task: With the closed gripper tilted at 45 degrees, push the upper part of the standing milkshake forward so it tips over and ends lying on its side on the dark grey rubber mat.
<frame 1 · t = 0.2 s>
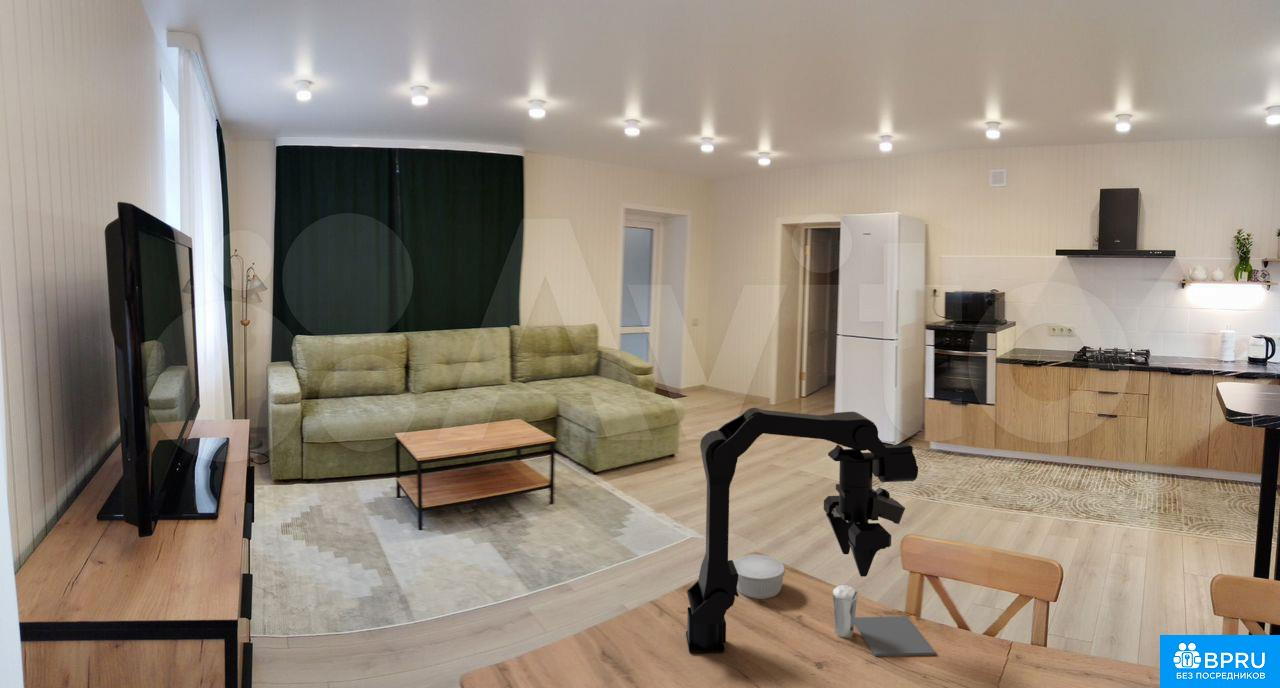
hand: (854, 564, 121), 15 cm above the table, tool pointing down, fingers open, 9 cm apart
ramekin: (757, 589, 142), on the table
milkshake: (845, 635, 125), on the table
mat: (891, 636, 124), on the table
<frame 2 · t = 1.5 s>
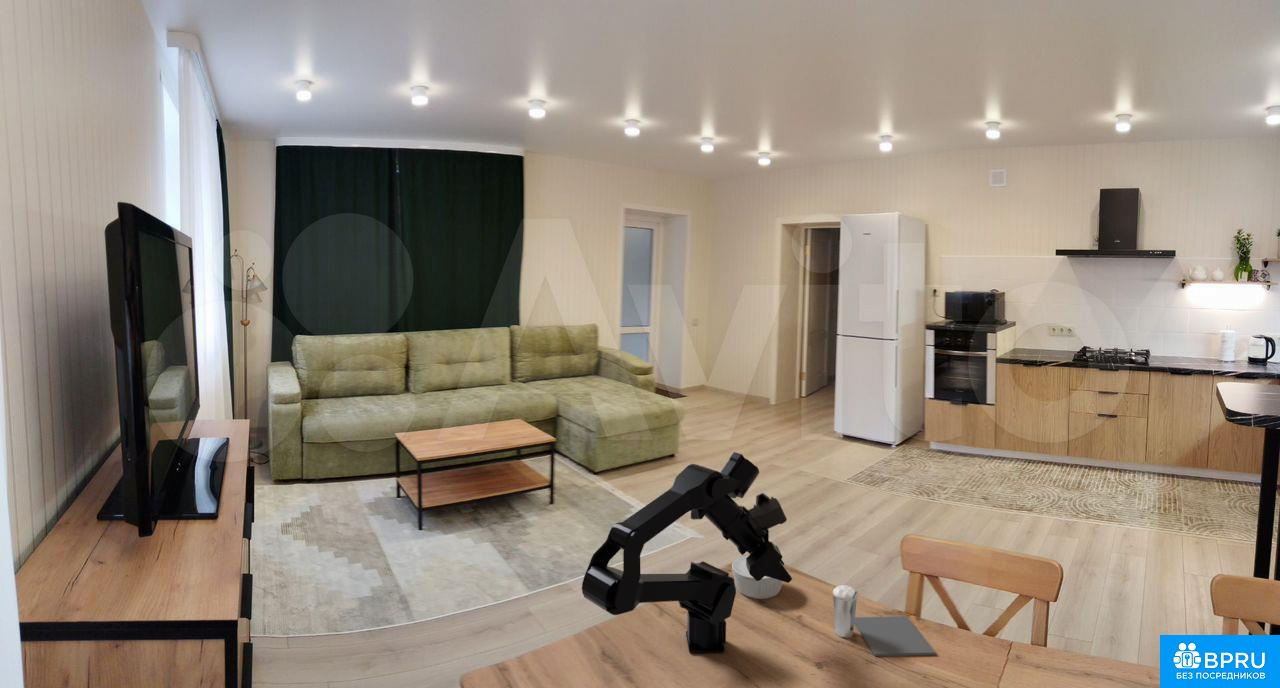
hand: (786, 572, 123), 13 cm above the table, tool tilted 45°, fingers open, 6 cm apart
nothing on the table moved.
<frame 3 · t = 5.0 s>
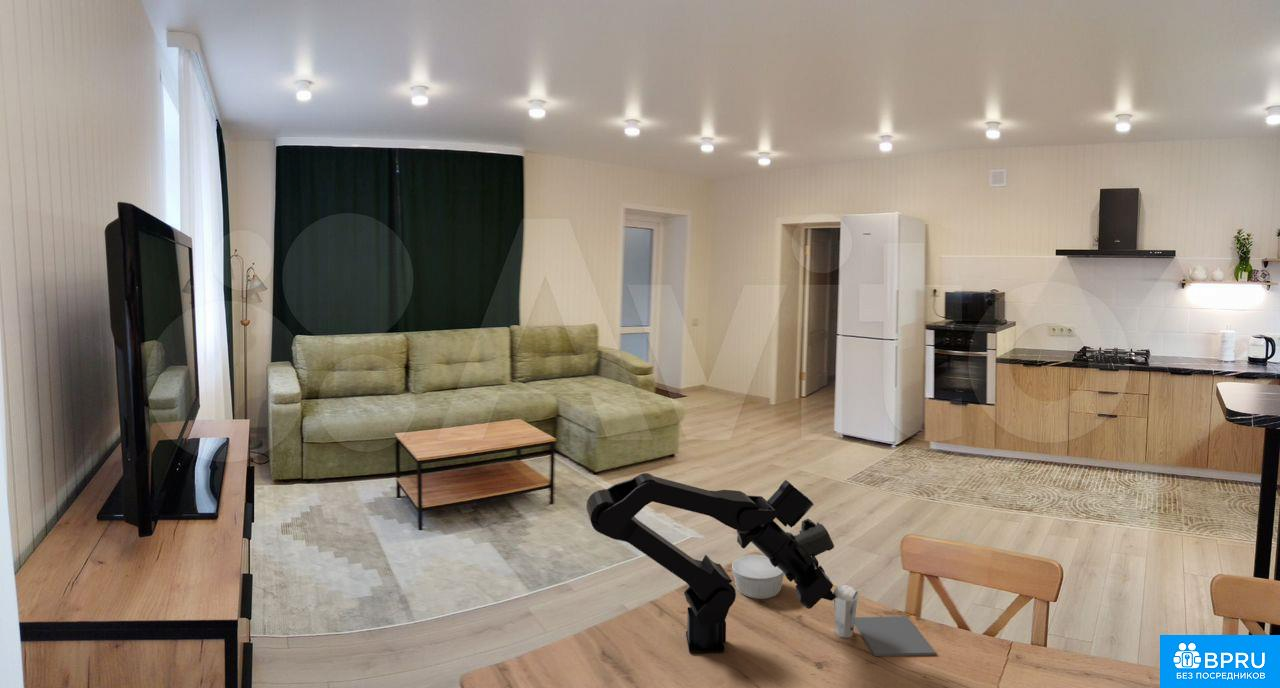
hand: (833, 598, 124), 7 cm above the table, tool tilted 45°, fingers closed
milkshake: (845, 635, 125), on the table, touching gripper
everything else where it was.
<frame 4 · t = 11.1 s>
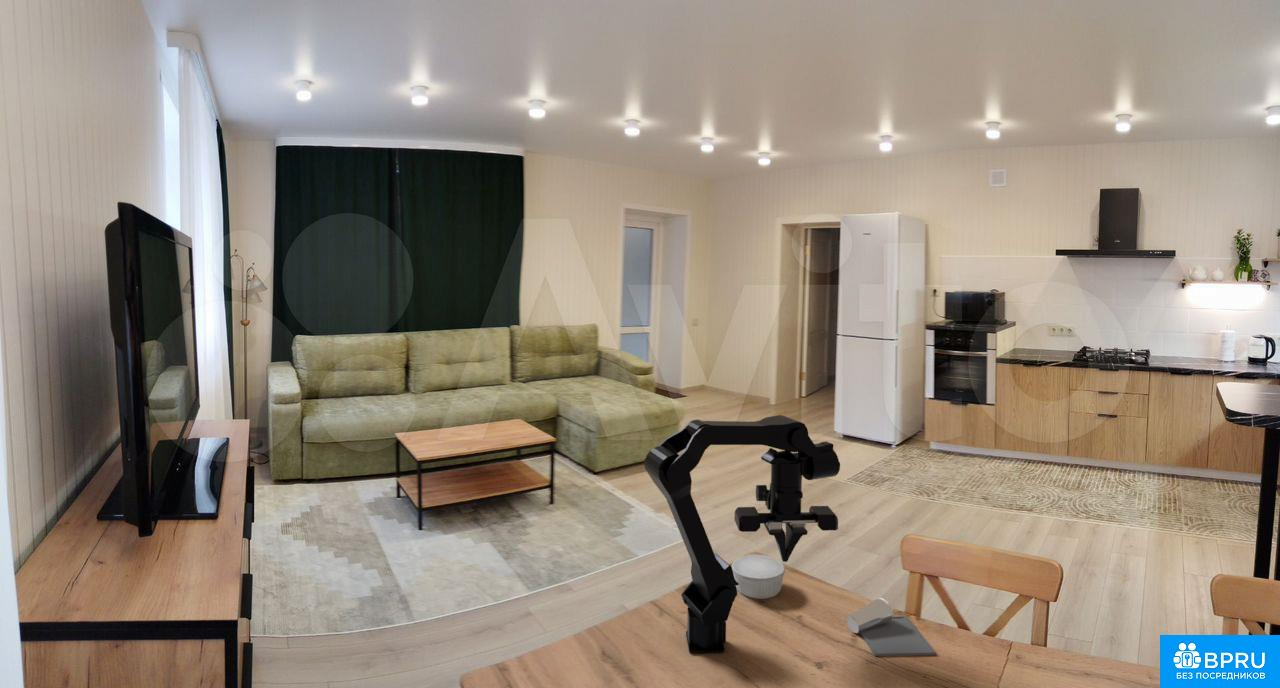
hand: (784, 560, 127), 13 cm above the table, tool pointing down, fingers closed
milkshake: (853, 626, 124), point 2 cm above the table, touching mat
everything else where it was.
at the end: milkshake tilted 83°; milkshake touching mat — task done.
